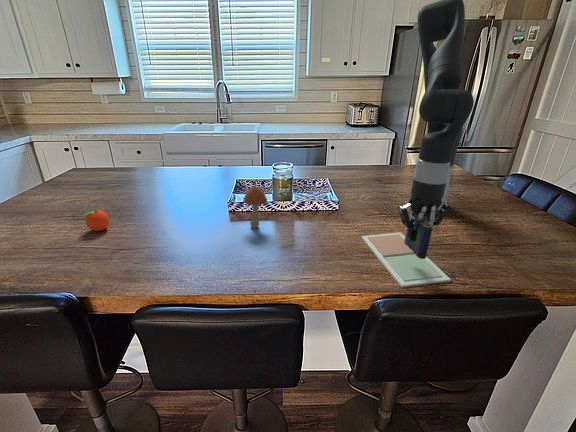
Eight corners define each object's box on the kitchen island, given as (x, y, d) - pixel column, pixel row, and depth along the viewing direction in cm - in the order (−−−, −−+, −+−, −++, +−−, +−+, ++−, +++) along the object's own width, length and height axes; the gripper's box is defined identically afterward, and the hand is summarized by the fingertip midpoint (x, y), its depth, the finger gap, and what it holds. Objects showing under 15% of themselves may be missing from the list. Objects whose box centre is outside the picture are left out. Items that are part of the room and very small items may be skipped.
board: (400, 234, 106) (401, 231, 106) (450, 281, 83) (451, 278, 82) (361, 237, 104) (361, 235, 103) (401, 287, 81) (401, 284, 80)
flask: (402, 241, 89) (409, 206, 85) (411, 240, 90) (419, 206, 85) (418, 259, 81) (427, 222, 76) (429, 258, 81) (439, 221, 77)
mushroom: (271, 223, 113) (270, 183, 106) (262, 233, 106) (260, 191, 99) (250, 220, 115) (248, 180, 108) (240, 229, 108) (238, 188, 102)
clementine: (84, 237, 103) (78, 217, 100) (85, 228, 109) (79, 209, 106) (111, 231, 106) (106, 212, 103) (111, 223, 112) (106, 205, 109)
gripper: (446, 171, 81) (432, 231, 89) (396, 174, 79) (386, 235, 86) (466, 181, 74) (449, 244, 82) (412, 184, 72) (400, 249, 80)
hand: (417, 239), depth 84 cm, fingers closed on flask, 3 cm apart
